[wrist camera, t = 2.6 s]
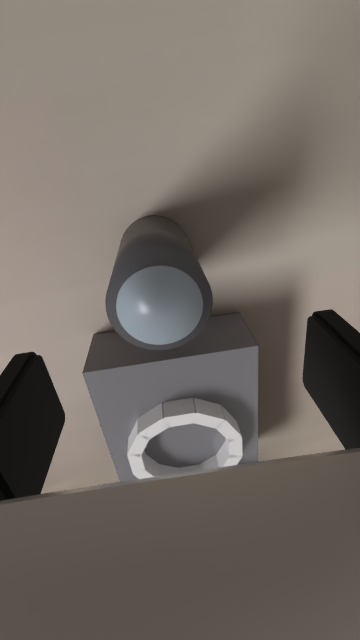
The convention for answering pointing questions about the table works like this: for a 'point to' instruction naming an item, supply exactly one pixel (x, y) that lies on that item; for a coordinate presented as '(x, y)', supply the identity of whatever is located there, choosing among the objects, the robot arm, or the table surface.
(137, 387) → the camera body
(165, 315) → the lens
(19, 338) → the table surface
